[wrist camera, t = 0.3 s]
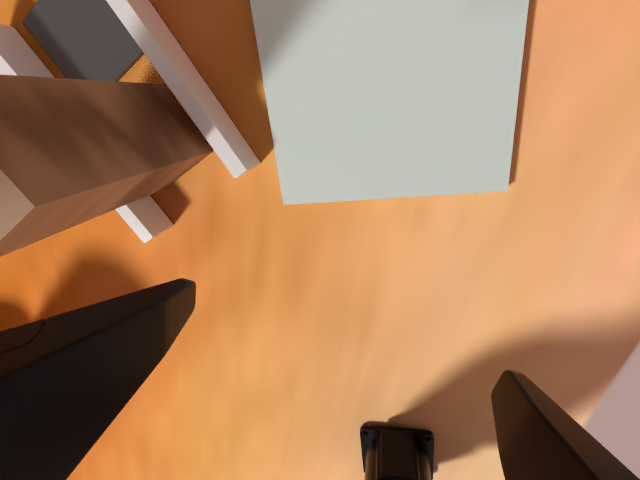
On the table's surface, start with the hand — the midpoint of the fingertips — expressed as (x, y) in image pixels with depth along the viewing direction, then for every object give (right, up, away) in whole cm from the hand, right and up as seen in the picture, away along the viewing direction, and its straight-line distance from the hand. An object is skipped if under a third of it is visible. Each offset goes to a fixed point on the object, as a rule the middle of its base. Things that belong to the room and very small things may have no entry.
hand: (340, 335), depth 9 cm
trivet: (+3, +12, +9) cm, 15 cm away
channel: (-13, +12, +12) cm, 22 cm away
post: (-11, +10, +13) cm, 20 cm away
